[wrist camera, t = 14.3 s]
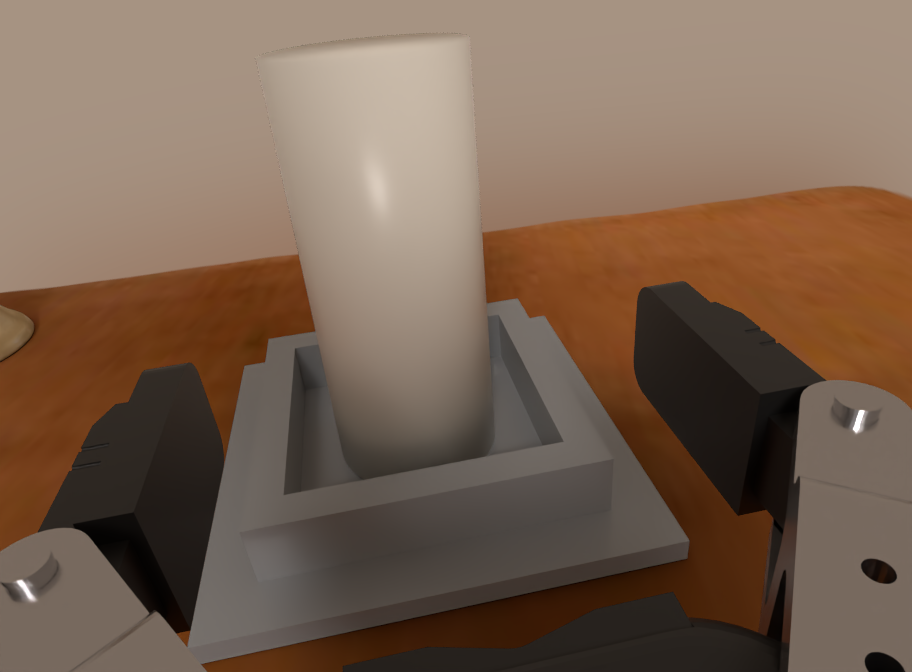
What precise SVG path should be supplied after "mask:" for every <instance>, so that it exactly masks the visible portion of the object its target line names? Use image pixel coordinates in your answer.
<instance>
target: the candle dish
mask: <svg viewBox="0 0 912 672" xmlns="http://www.w3.org/2000/svg"><path fill="white" fill-rule="evenodd" d="M487 317H488V333H489V349H490V364H491V380H492V396H493V411H494V427H495V437H494V442H493V445H492V447H491V449H490V451H489V453H488V454H487V456H486V457H481V458H476V459H470V460H465V461H460V462H455V463H449V464H444V465H439V466H434V467H429V468H423V469H418V470H413V471H408V472H402V473H397V474H392V475H387V476H381V477H376V478H371V479H366V480H364V479H362V478H361V477H359V476H358V475H357V474H355V473H354V472H353V471H352V470H351V469H350V468H349V467H348V465H347V463H346V462H345V459H344V457H343V453H342V449H341V444H340V440H339V435H338V431H337V426H336V421H335V417H334V412H333V408H332V403H331V399H330V394H329V390H328V385H327V381H326V376H325V372H324V367H323V363H322V358H321V354H320V349H319V344H318V340H317V335H316V331H315V332H309V333H303V334H297V335H291V336H285V337H279V338H273V339H269V341H268V347H267V354H266V360H265V363H259V364H253V365H247V366H244V371H243V376H242V381H241V386H240V391H239V396H238V401H237V406H236V411H235V416H234V420H233V425H232V430H231V435H230V440H229V445H228V450H227V455H226V460H225V465H224V470H223V475H222V479H221V484H220V489H219V494H218V499H217V504H216V509H215V514H214V519H213V524H212V529H211V534H210V538H209V543H208V548H207V553H206V558H205V563H204V568H203V573H202V578H201V583H200V588H199V593H198V597H197V602H196V607H195V612H194V617H193V622H192V627H191V632H190V637H189V642H188V647H187V648H188V649H189V650H190V652H191V653H192V654H193V655H194V657H195V658H196V659H197V660H198V661H199V663H200V664H203V663H208V662H212V661H217V660H222V659H226V658H231V657H235V656H240V655H245V654H249V653H254V652H258V651H263V650H268V649H272V648H277V647H282V646H286V645H291V644H295V643H300V642H305V641H309V640H314V639H318V638H323V637H328V636H332V635H337V634H342V633H346V632H351V631H355V630H360V629H365V628H369V627H374V626H378V625H383V624H388V623H392V622H397V621H402V620H406V619H411V618H415V617H420V616H425V615H429V614H434V613H438V612H443V611H448V610H452V609H457V608H462V607H466V606H471V605H475V604H480V603H485V602H489V601H494V600H498V599H503V598H508V597H512V596H517V595H521V594H526V593H531V592H535V591H540V590H545V589H549V588H554V587H558V586H563V585H568V584H572V583H577V582H581V581H586V580H591V579H595V578H600V577H605V576H609V575H614V574H618V573H623V572H628V571H632V570H637V569H641V568H646V567H651V566H655V565H660V564H665V563H669V562H674V561H678V560H683V559H687V556H688V549H689V542H690V541H689V539H688V537H687V536H686V534H685V533H684V531H683V530H682V528H681V527H680V525H679V524H678V522H677V520H676V519H675V517H674V516H673V514H672V513H671V511H670V510H669V508H668V507H667V505H666V503H665V502H664V500H663V499H662V497H661V496H660V494H659V493H658V491H657V490H656V488H655V486H654V485H653V483H652V482H651V480H650V479H649V477H648V476H647V474H646V472H645V471H644V469H643V468H642V466H641V465H640V463H639V462H638V460H637V459H636V457H635V455H634V454H633V452H632V451H631V449H630V448H629V446H628V445H627V443H626V442H625V440H624V438H623V437H622V435H621V434H620V432H619V431H618V429H617V428H616V426H615V425H614V423H613V421H612V420H611V418H610V417H609V415H608V414H607V412H606V411H605V409H604V407H603V406H602V404H601V403H600V401H599V400H598V398H597V397H596V395H595V394H594V392H593V390H592V389H591V387H590V386H589V384H588V383H587V381H586V380H585V378H584V377H583V375H582V373H581V372H580V370H579V369H578V367H577V366H576V364H575V363H574V361H573V360H572V358H571V356H570V355H569V353H568V352H567V350H566V349H565V347H564V346H563V344H562V342H561V341H560V339H559V338H558V336H557V335H556V333H555V332H554V330H553V329H552V327H551V325H550V324H549V322H548V321H547V319H546V318H545V316H540V317H534V318H529V317H528V315H527V313H526V312H525V310H524V308H523V307H522V305H521V303H520V302H519V300H518V298H517V299H511V300H505V301H499V302H493V303H487Z"/></svg>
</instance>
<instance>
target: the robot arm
mask: <svg viewBox="0 0 912 672" xmlns="http://www.w3.org/2000/svg"><path fill="white" fill-rule="evenodd" d="M634 370H635V375H636V379H637V382H638V384H639V387H640V389H641V390H642V392H643V393H644V395H645V396H646V397H647V399H648V400H649V401H650V403H651V404H652V405H653V406H654V408H655V409H656V410H657V412H658V413H659V414H660V416H661V417H662V418H663V419H664V421H665V422H666V423H667V425H668V426H669V427H670V428H671V430H672V431H673V432H674V434H675V435H676V436H677V438H678V439H679V440H680V441H681V443H682V444H683V445H684V447H685V448H686V449H687V451H688V452H689V453H690V454H691V456H692V457H693V458H694V460H695V461H696V462H697V464H698V465H699V466H700V467H701V469H702V470H703V471H704V473H705V474H706V475H707V477H708V478H709V479H710V480H711V482H712V483H713V484H714V486H715V487H716V488H717V489H718V491H719V492H720V493H721V495H722V496H723V497H724V499H725V500H726V501H727V502H728V504H729V505H730V506H731V508H732V509H733V510H734V512H735V513H736V514H737V515H738V516H739V515H743V514H748V513H753V512H757V511H762V510H767V511H768V512H769V513H770V514H771V515H772V517H773V520H772V525H771V529H770V533H769V542H768V551H767V560H766V569H765V579H764V588H763V597H762V606H761V615H760V623H759V630H758V632H755V631H752V630H749V629H746V628H743V627H740V626H737V625H733V624H729V623H725V622H721V621H716V620H708V619H701V618H688V617H687V616H686V614H685V612H684V610H683V609H682V607H681V605H680V603H679V602H678V600H677V598H676V596H675V595H674V593H673V592H670V593H665V594H661V595H656V596H652V597H647V598H643V599H639V600H634V601H630V602H625V603H621V604H616V605H612V606H608V607H603V608H599V609H595V610H593V611H591V612H589V613H587V614H585V615H583V616H581V617H579V618H578V619H576V620H574V621H572V622H570V623H568V624H566V625H564V626H562V627H560V628H558V629H556V630H554V631H552V632H550V633H549V634H547V635H545V636H543V637H541V638H539V639H537V640H535V641H533V642H531V643H529V644H527V645H525V646H523V647H519V648H513V649H499V648H449V647H426V648H421V649H417V650H412V651H408V652H403V653H399V654H394V655H390V656H386V657H381V658H377V659H372V660H368V661H363V662H359V663H354V664H350V665H346V666H343V672H912V410H911V409H910V408H909V407H908V406H907V404H906V403H904V402H903V401H902V400H900V399H899V398H897V397H896V396H894V395H893V394H891V393H889V392H887V391H884V390H882V389H880V388H877V387H874V386H871V385H867V384H864V383H859V382H853V381H844V380H831V381H826V380H825V379H824V378H822V377H821V376H820V375H819V374H817V373H816V372H815V371H814V370H812V369H811V368H810V367H809V366H807V365H806V364H805V363H804V362H802V361H801V360H800V359H799V358H797V357H796V356H795V355H794V354H792V353H791V352H790V351H789V350H787V349H786V348H785V347H784V346H782V345H781V344H780V343H777V344H776V342H775V339H774V338H772V337H771V336H770V335H769V334H767V333H766V332H765V331H761V330H760V327H759V326H757V325H756V324H755V323H754V322H752V321H751V320H750V319H749V318H747V317H746V316H745V315H744V314H742V313H741V312H738V311H736V310H733V309H731V308H729V307H726V306H724V305H721V304H719V303H717V302H712V303H710V302H709V301H708V300H707V299H706V298H704V297H703V296H702V295H701V294H700V293H699V292H697V291H696V290H695V289H694V288H693V287H691V286H690V285H689V284H688V283H686V282H684V281H680V282H674V283H668V284H662V285H656V286H650V287H644V288H642V289H641V291H640V292H639V295H638V300H637V314H636V330H635V347H634ZM81 449H82V452H79V453H78V455H77V457H76V459H75V461H74V463H73V465H72V471H69V472H68V474H67V476H66V478H65V480H64V482H63V484H62V486H61V488H60V490H59V492H58V494H57V496H56V498H55V500H54V502H53V504H52V505H51V507H50V509H49V511H48V513H47V515H46V517H45V519H44V521H43V523H42V525H41V527H40V529H39V531H38V533H36V534H33V535H30V536H28V537H26V538H23V539H21V540H19V541H17V542H15V543H13V544H12V545H10V546H8V547H7V548H5V549H4V550H2V551H1V552H0V672H207V671H206V670H205V669H204V668H203V666H202V665H201V664H200V663H199V661H198V660H197V659H196V658H195V657H194V655H193V654H192V653H191V652H190V650H189V649H188V648H187V647H186V645H185V644H184V643H183V642H182V640H181V639H180V638H179V637H178V636H177V634H176V633H180V632H185V631H190V630H191V626H192V621H193V616H194V611H195V606H196V601H197V596H198V591H199V586H200V582H201V577H202V572H203V567H204V562H205V557H206V552H207V547H208V542H209V537H210V532H211V527H212V523H213V518H214V513H215V508H216V503H217V498H218V493H219V488H220V483H221V478H222V473H223V468H224V453H223V445H222V440H221V436H220V433H219V430H218V427H217V424H216V421H215V419H214V416H213V413H212V410H211V407H210V404H209V402H208V399H207V396H206V393H205V390H204V388H203V385H202V382H201V379H200V376H199V374H198V372H197V369H196V368H195V366H194V365H193V364H192V363H184V364H178V365H172V366H166V367H161V368H155V369H149V370H144V371H143V372H142V374H141V376H140V378H139V380H138V382H137V384H136V387H135V389H134V391H133V393H132V395H131V398H130V400H129V402H126V403H121V404H115V405H114V406H113V407H112V408H111V409H110V410H109V411H108V412H107V413H106V414H105V415H104V416H102V417H101V418H100V419H99V420H98V421H97V422H96V423H95V424H94V425H93V426H92V428H91V430H90V432H89V434H88V436H87V438H86V439H85V441H84V443H83V445H82V447H81Z"/></svg>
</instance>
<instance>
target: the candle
mask: <svg viewBox="0 0 912 672" xmlns="http://www.w3.org/2000/svg"><path fill="white" fill-rule="evenodd" d="M256 64H257V68H258V73H259V77H260V82H261V86H262V91H263V95H264V100H265V104H266V108H267V113H268V118H269V122H270V127H271V132H272V136H273V140H274V145H275V149H276V154H277V159H278V163H279V168H280V172H281V177H282V181H283V186H284V190H285V195H286V199H287V204H288V208H289V213H290V218H291V222H292V226H293V231H294V236H295V240H296V244H297V249H298V254H299V258H300V263H301V267H302V272H303V277H304V281H305V286H306V290H307V295H308V299H309V304H310V308H311V313H312V317H313V322H314V326H315V331H316V335H317V340H318V344H319V349H320V354H321V358H322V363H323V367H324V372H325V376H326V381H327V385H328V390H329V394H330V399H331V403H332V408H333V412H334V417H335V421H336V426H337V431H338V435H339V440H340V444H341V449H342V453H343V457H344V459H345V462H346V463H347V465H348V467H349V468H350V469H351V470H352V471H353V472H354V473H355V474H357V475H358V476H359V477H361V478H362V479H364V480H366V479H371V478H376V477H381V476H387V475H392V474H397V473H402V472H408V471H413V470H418V469H423V468H429V467H434V466H439V465H444V464H449V463H455V462H460V461H465V460H470V459H476V458H481V457H486V456H487V454H488V453H489V451H490V449H491V447H492V445H493V442H494V437H495V427H494V411H493V396H492V380H491V364H490V349H489V333H488V317H487V302H486V286H485V270H484V255H483V239H482V223H481V207H480V193H479V176H478V161H477V145H476V130H475V114H474V99H473V83H472V66H471V51H470V36H468V35H465V34H458V33H419V34H401V35H387V36H377V37H365V38H355V39H346V40H338V41H330V42H322V43H315V44H309V45H302V46H297V47H291V48H286V49H281V50H276V51H272V52H268V53H265V54H262V55H259V56H257V57H256Z"/></svg>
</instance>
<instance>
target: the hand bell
mask: <svg viewBox="0 0 912 672" xmlns="http://www.w3.org/2000/svg"><path fill="white" fill-rule="evenodd" d="M33 332H34V323H33V322H32V320H31V319H29V318H28V317H27V316H26V315H24V314H23V313H21V312H18V311H16V310H13V309H8V308H6V307H4V306H2V305H0V361H2V360H4V359H5V358H7V357H9V356H10V355H12V354H13V353H15V352H16V351H17V350H18V349H20V348H21V347H22V346H23V345H24V344H25V343H26V342H27V341H28V340H29V339H30V338H31V336H32V334H33Z"/></svg>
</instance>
